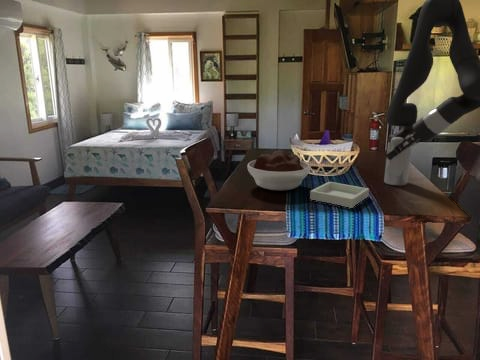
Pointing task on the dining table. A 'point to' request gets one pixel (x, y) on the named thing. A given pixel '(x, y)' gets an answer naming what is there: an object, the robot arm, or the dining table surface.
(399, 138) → the salt shaker
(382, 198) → the dining table surface
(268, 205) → the dining table surface
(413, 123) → the robot arm
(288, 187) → the white bowl of pudding
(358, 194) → the tray
